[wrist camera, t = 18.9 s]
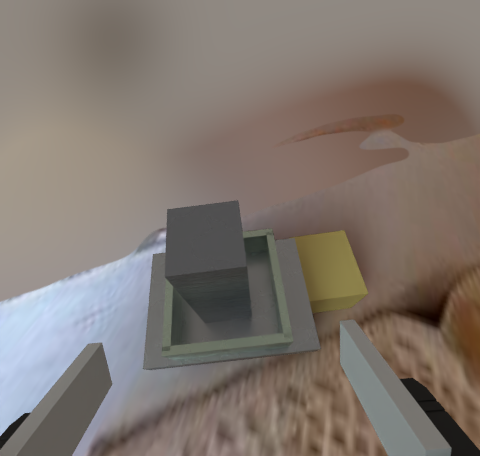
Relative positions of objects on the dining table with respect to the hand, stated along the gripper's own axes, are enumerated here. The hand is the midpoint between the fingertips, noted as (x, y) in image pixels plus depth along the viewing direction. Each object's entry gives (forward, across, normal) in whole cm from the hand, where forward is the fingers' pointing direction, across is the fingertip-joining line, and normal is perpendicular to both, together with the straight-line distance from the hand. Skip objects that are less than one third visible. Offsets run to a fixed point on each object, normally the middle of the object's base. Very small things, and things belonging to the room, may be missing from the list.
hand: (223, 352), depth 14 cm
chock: (+16, -10, +4) cm, 19 cm away
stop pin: (+9, 0, +1) cm, 9 cm away
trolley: (+14, 0, +7) cm, 15 cm away
